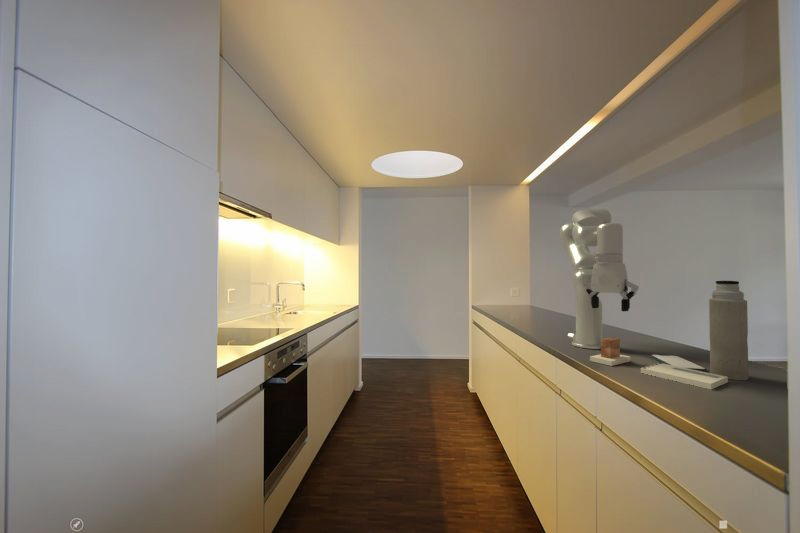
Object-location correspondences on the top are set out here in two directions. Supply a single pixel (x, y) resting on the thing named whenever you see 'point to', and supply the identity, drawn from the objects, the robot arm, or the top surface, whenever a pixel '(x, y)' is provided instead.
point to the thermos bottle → (728, 331)
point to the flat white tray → (685, 375)
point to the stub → (610, 353)
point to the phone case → (677, 362)
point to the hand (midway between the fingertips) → (609, 309)
